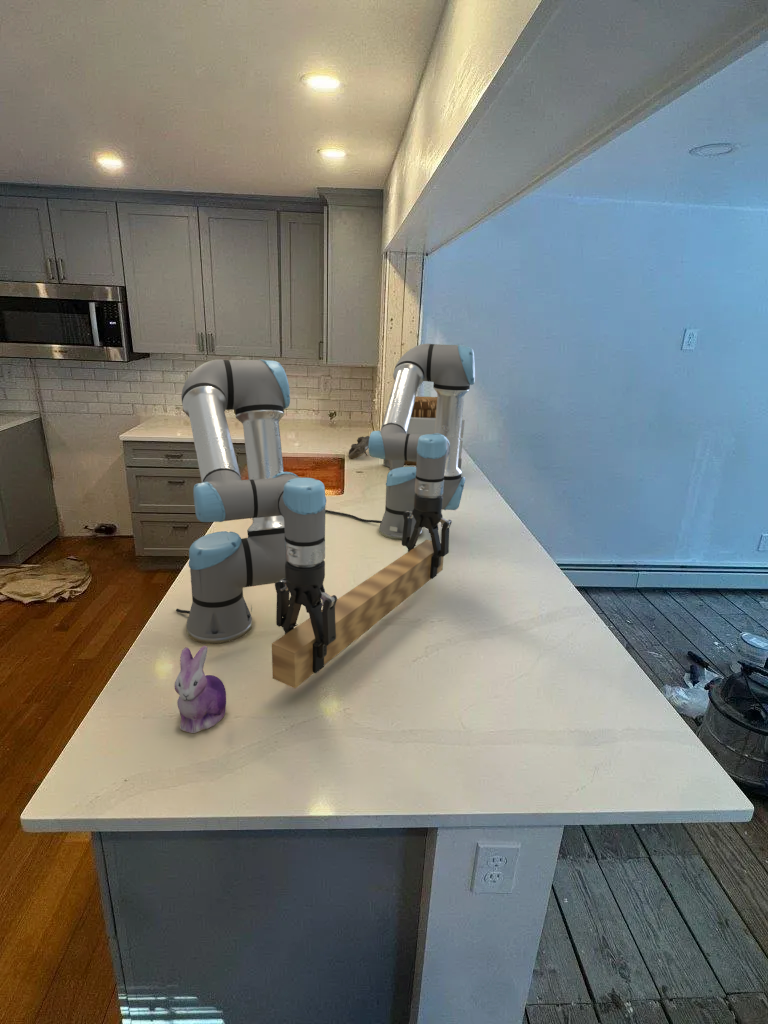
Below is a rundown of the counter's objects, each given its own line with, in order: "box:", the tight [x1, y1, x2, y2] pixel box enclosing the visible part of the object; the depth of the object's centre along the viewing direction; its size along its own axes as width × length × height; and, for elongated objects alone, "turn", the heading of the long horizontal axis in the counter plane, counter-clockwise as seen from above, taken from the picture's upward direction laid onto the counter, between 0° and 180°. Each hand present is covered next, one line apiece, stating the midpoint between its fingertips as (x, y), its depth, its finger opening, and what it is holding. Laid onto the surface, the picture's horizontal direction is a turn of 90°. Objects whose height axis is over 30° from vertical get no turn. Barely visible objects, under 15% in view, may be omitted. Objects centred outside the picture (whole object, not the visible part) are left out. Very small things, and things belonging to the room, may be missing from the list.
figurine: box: [174, 645, 227, 734], centre depth 105 cm, size 9×10×15 cm
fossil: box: [347, 435, 370, 460], centre depth 301 cm, size 22×10×15 cm
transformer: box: [383, 395, 465, 472], centre depth 268 cm, size 34×33×41 cm
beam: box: [271, 539, 445, 689], centre depth 135 cm, size 65×6×8 cm, turn 149°
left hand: (305, 663), depth 115 cm, fingers closed on beam, 6 cm apart
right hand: (422, 573), depth 157 cm, fingers closed on beam, 6 cm apart
